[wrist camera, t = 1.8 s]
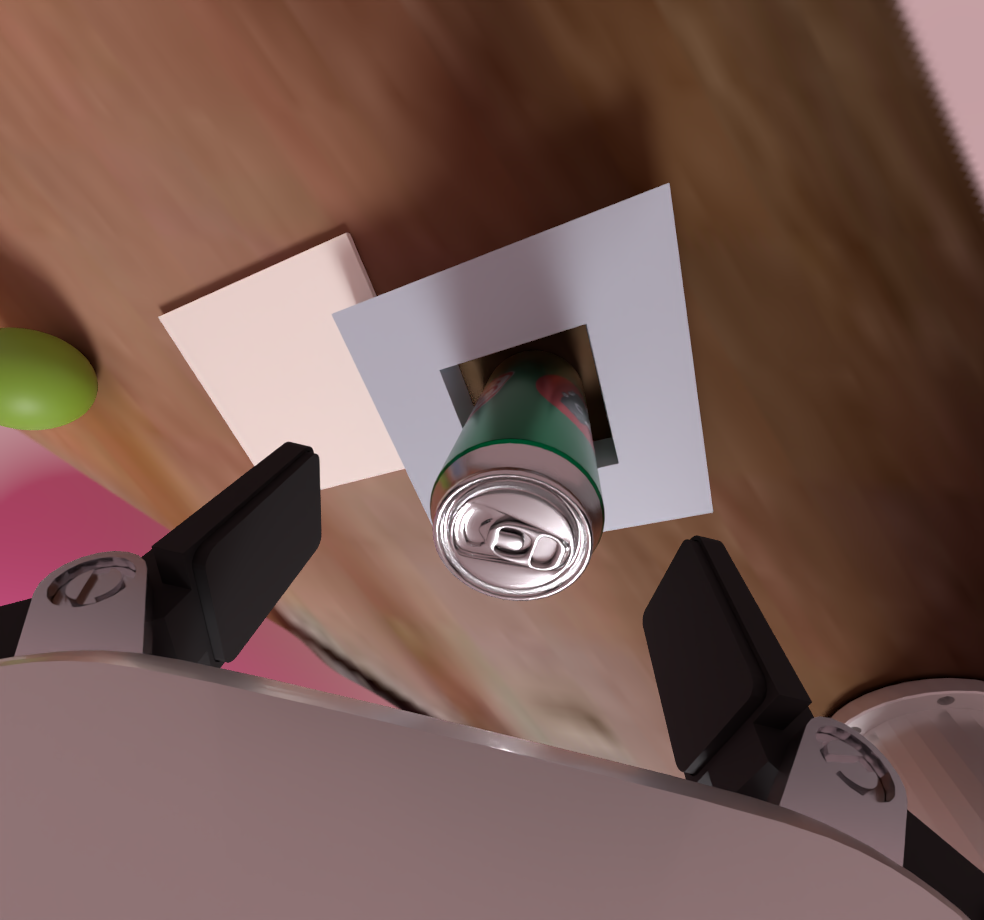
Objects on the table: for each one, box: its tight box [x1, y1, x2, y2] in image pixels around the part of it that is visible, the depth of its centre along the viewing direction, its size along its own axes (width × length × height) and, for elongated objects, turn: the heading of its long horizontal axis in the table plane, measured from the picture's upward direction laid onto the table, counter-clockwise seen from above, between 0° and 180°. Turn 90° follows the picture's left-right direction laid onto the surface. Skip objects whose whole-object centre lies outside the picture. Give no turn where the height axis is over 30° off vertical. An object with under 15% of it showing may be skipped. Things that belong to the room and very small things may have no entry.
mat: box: [158, 233, 405, 490], centre depth 23 cm, size 12×12×1 cm
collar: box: [332, 183, 713, 532], centre depth 20 cm, size 14×14×3 cm
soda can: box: [430, 350, 605, 601], centre depth 16 cm, size 5×5×12 cm
